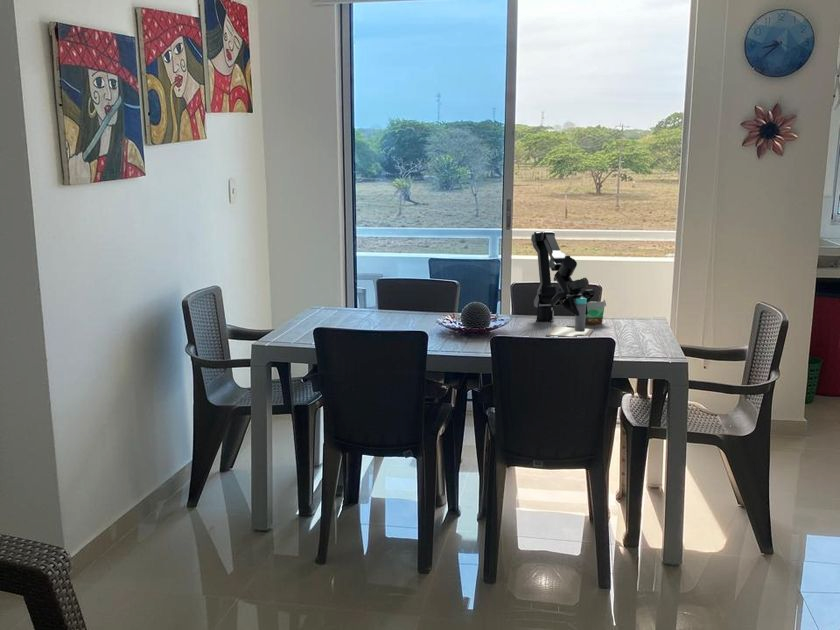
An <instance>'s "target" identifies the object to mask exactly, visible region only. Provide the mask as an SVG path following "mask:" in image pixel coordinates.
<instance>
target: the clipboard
mask: <svg viewBox="0 0 840 630" xmlns="http://www.w3.org/2000/svg"><path fill="white" fill-rule="evenodd" d="M594 331H595V329H594V328H587V327H585V331H584V332H577V331H575V325H569V324H567V325H566V326H560V325H555V326H554V327H553V328H551V329H550V330H549V331H548V333H547V334H545V337H546V336H558V337H577V336H589V335H590V334H591V335H592V333H593V332H594ZM591 335H590V336H591ZM590 336H589V337H590Z"/></svg>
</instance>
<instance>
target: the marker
mask: <svg viewBox="0 0 840 630" xmlns="http://www.w3.org/2000/svg"><path fill="white" fill-rule="evenodd" d="M586 301H587V298H581V297H579V298H576V300H575V306H576V308H577V310H578V312H579V316H576V315H575V314H574V326H575V331H577V332H584V331H585V328H586V325H585V317H586Z"/></svg>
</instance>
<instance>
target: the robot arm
mask: <svg viewBox="0 0 840 630" xmlns="http://www.w3.org/2000/svg"><path fill="white" fill-rule="evenodd" d="M555 236H556V235H555V231H553V230H547V231H545V230H544V231H534V233H532V234H531V237H530V238H531V243H532V247H533V249H534V250H535V252H536V253H537V254H536V255H537V265H538V274H539V276H538V277H539V287H538V289H537V291H536V295H535V297H534V299H533V306H534V307H535V308H536V319H535V322H541V323H542V322H543V323H552V321H554V316H555V313H554V312H555V311H554V309H553V308H557V306H560V307H562V308H564V309H566V310H568V311H569V312H571V313H572V314H573V315H574V316H575V315H576V316H579V312H578V310H577V308H576V303H575V301H576V298H579V297H581V298H587V301H586V315H587V314H588V310H587V302H590V301H592V299H593V298H594V297H595V296H596V294H597V293H596V292H595V290H594V289H585V290H584V291H583V290H582V289H584V288H587V286H589V285H590V282H589V279H588V278H587V277H582V278H580V279H575V280H573V279H572V277H571V276H573V274H574V272H575V270H576V268H577V265H578V264H577V261H576V260H575V259H574V258H572V257H571V255H566V253H564V252H562V250H561V249H560V246H559V244H558V242H557V240H556V239H557V238H556V237H555ZM551 271H552V272H555V274H553V275H554V277H553V281H554V282H556V283H557V284H558V286H559V289H558V291H559V292H557V290H556V286H555V285H553V284H552V278H551ZM582 291H583V292H582ZM581 292H582V293H581ZM574 300H575V301H574ZM560 304H561V305H560Z"/></svg>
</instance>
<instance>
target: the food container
mask: <svg viewBox="0 0 840 630" xmlns="http://www.w3.org/2000/svg"><path fill="white" fill-rule="evenodd" d="M605 307H607V302H606V300H605V299H603V301H593V300H590V302H587V310H588V314H587V315H586V317H585V326H600V325H602V324H603V318H604V313H605Z"/></svg>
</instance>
